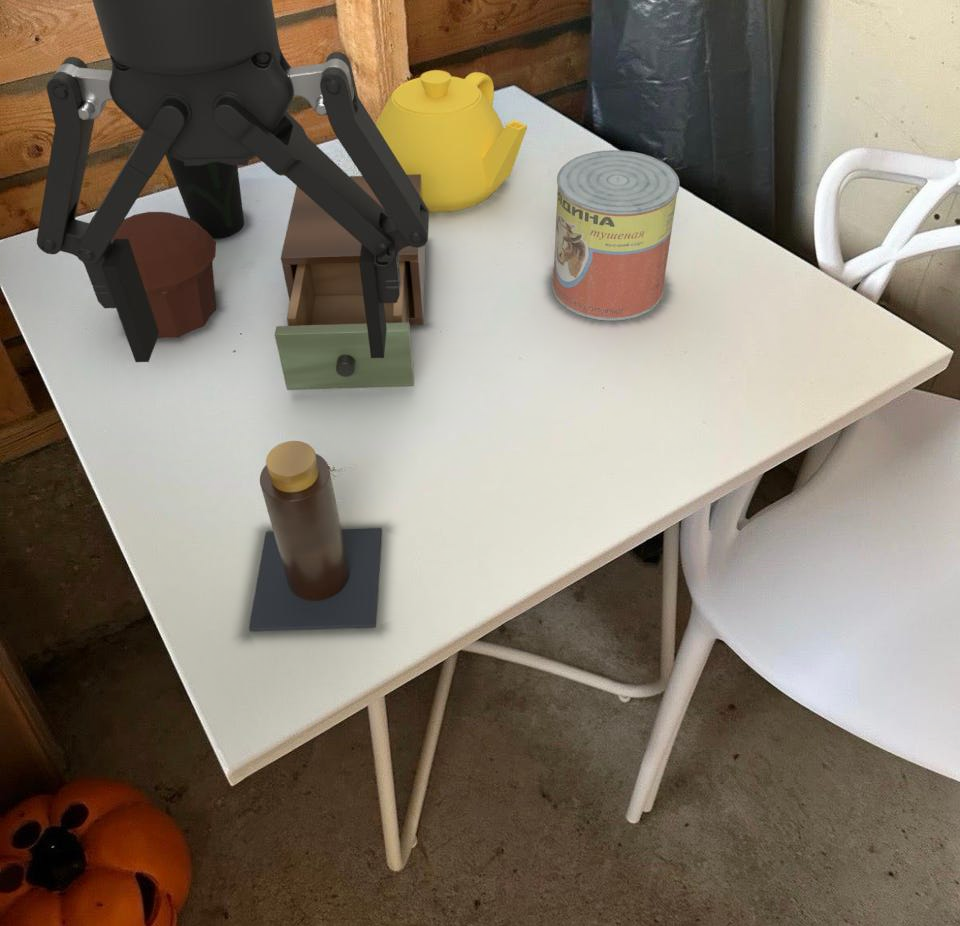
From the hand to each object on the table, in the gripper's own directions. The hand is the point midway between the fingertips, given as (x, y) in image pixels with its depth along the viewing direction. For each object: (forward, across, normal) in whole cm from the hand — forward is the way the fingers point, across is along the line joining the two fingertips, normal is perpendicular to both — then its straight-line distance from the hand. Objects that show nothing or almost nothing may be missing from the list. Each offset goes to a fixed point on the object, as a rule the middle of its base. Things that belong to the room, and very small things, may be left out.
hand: (263, 346), depth 54 cm
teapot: (+22, -11, -57) cm, 62 cm away
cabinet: (+22, -1, -37) cm, 43 cm away
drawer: (+21, -1, -26) cm, 33 cm away
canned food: (+22, -26, -36) cm, 49 cm away
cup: (+22, +16, -49) cm, 56 cm away
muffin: (+22, +18, -33) cm, 43 cm away
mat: (+22, 0, +1) cm, 22 cm away
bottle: (+21, 0, +1) cm, 21 cm away
